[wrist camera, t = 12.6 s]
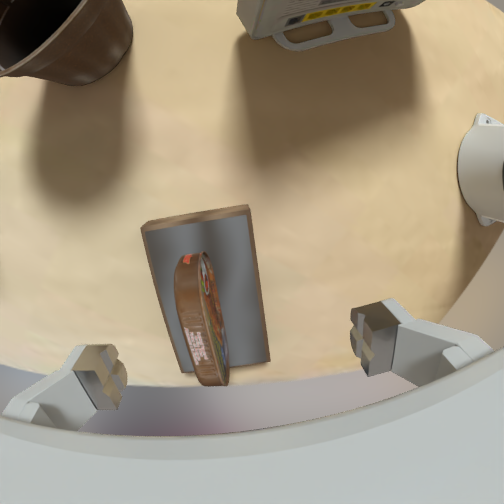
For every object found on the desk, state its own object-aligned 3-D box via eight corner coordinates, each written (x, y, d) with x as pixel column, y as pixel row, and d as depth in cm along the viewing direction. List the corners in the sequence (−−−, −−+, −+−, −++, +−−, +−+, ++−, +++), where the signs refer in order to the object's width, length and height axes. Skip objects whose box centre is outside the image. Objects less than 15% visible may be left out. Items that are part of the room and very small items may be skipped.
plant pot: (31, 39, 24) (-36, 8, 9) (128, -24, 23) (90, -89, 8) (57, 124, 29) (-27, 116, 14) (167, 56, 28) (129, -8, 13)
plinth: (247, 204, 35) (250, 210, 31) (266, 346, 41) (271, 363, 37) (148, 221, 34) (139, 228, 30) (184, 357, 40) (181, 375, 37)
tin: (230, 354, 36) (233, 401, 28) (206, 357, 36) (203, 404, 28) (208, 240, 31) (203, 268, 23) (179, 244, 31) (165, 274, 23)
